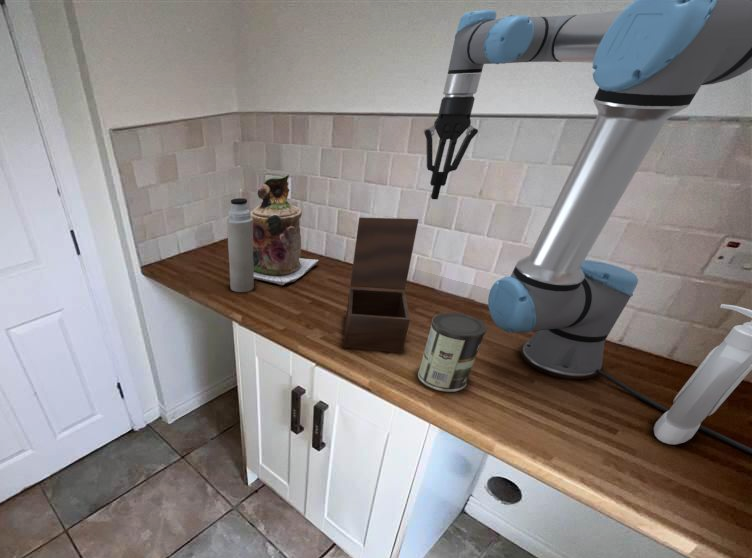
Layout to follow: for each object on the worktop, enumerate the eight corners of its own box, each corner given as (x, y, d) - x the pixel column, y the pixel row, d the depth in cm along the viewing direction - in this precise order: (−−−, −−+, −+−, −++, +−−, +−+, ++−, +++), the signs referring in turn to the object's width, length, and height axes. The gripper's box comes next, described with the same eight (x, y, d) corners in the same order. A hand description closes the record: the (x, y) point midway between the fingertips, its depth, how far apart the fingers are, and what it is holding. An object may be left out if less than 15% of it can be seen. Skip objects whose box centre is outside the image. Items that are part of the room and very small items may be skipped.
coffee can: (460, 367, 95) (479, 313, 86) (471, 394, 87) (493, 337, 78) (414, 364, 97) (428, 310, 88) (420, 389, 89) (437, 333, 80)
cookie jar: (264, 255, 163) (264, 166, 144) (319, 265, 152) (327, 170, 132) (228, 275, 147) (223, 178, 128) (288, 288, 135) (292, 184, 116)
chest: (401, 353, 101) (410, 319, 95) (343, 347, 104) (348, 314, 98) (397, 322, 114) (404, 291, 108) (345, 318, 117) (349, 287, 111)
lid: (418, 219, 100) (418, 218, 100) (359, 217, 103) (359, 217, 103) (405, 289, 108) (404, 289, 108) (350, 286, 111) (350, 285, 111)
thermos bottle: (248, 281, 142) (246, 195, 125) (257, 289, 135) (256, 200, 119) (227, 285, 139) (222, 198, 123) (235, 293, 133) (231, 203, 117)
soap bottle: (650, 404, 82) (733, 292, 68) (701, 425, 77) (803, 308, 62) (625, 430, 76) (709, 314, 62) (678, 454, 71) (784, 334, 57)
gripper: (484, 94, 101) (456, 195, 115) (428, 96, 104) (408, 194, 118) (491, 95, 95) (461, 201, 110) (432, 97, 98) (410, 200, 112)
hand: (434, 198), depth 114 cm, fingers closed
